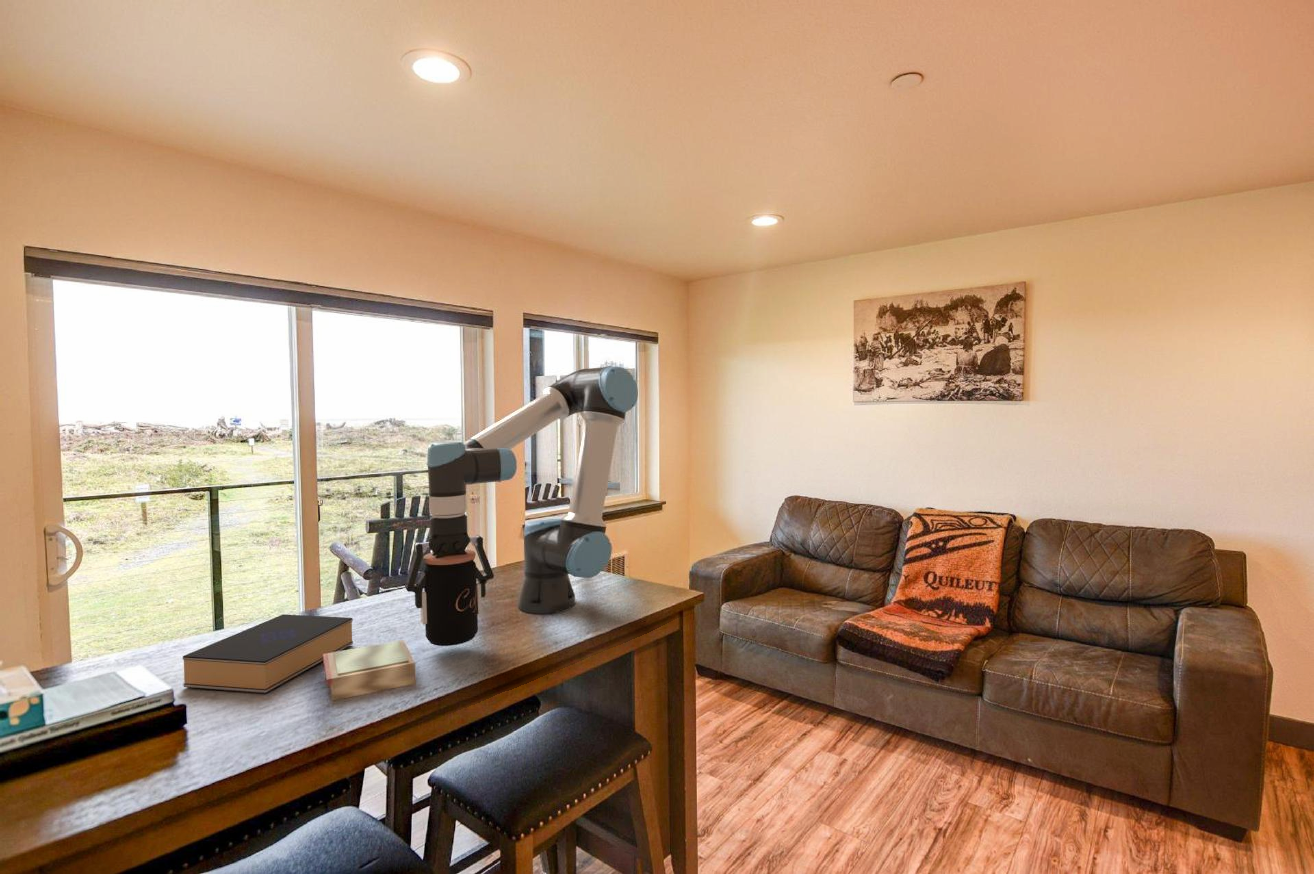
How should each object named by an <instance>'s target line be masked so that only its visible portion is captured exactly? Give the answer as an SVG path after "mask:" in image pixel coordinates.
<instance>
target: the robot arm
mask: <svg viewBox="0 0 1314 874" xmlns="http://www.w3.org/2000/svg"><path fill="white" fill-rule="evenodd" d="M638 397H639V389H638V384H637V382H636V380H635V379H634V376H633V375H632V373H631V372H630V371H628V370H627V369H626V368H624V367H621V366H611V365H606V366H604V367H603V366H601V367H594V368H581V369H579V370H576V371H573V372H571V373H569V374H568V375H565V376H563V377H562V378H560V379H559V380H557V381H556V382H554V383H552V384H551V385H549V386H547V387H546V388H544V389H543V392H542V395H540V396H538V397H537V398H535V399H534V400H531V401H530V402H529V403H527V404H525V405H523V406H522V407H519V409H517V410H515V411H513V412H512V413H510V414H508V415H507V416H505V417H503V418H502V419H501V420H499V421H497V422H495V423H493V424H492V425H490V426H489V427H487V428H485V429H484V430H482V431H480V432H479V433H477V434H476V435H474V436H472V437H470V438H468V439H467V440H464V442H463V441H438V442H432V443H430V444H429V445H428V448H427V463H426V466H427V473H428V474H427V476H428V479H427V480H428V497H429V498H428V504H429V505H428V506H429V508H428V509H429V510H428V513H429V514H430V515H431V516H430V518H429V540H428V541H425V542H424V541H423V542H418V541H417V542H414V547H413V548H414V554H413V558H412V561H411V565H410V569H409V570H408V571H409V572H408V575H407V578H406V582H405V584H404V589H406V591H407V592H409V593H410V592H411V593H414V606H415V607H416V609H420V621H421V623H422V625H424V626H425V624H427V605H426V592H425V591H424V587H425V585H426V574H425V573H424V572H423V571H422V573H421V575H420V577H419V578H418V580H417V577H418V573H419V570H420V567H421V563H422V561H423V557H424V554H425V553H426V552H427V550H428V549H430V550H431V551H432V552H433V554H432V556H434V555H436V556H435V558H442V557H444V556H452V555H464V554H467V553H466V551H465V549H466V550H467V548H468V546H469V544H470V543H471V545H472V547H474V549H475V552H476V554H477V556H478V559H479V562H480V563H481V567H482V569H483V571H484V572H483V573H484V574H483V573H482V571H480V570H479V568H478V567H477V566H476V583H477V614H478V615H482V612H483V611H482V610H483V609H482V598H485V597H486V592H487V591H486V590H487V589H486V583H487V582H488V581H489V580H493V579H494V577H495V575H494V572H493V569H492V566H491V565H490V561H489V560H488V557H487V553H486V551H485V549H484V538H483V537H482V536H480V535H479V534H475V536H469V534H468V516H467V515H466V513H467V511H468V507H467V486H468V485H476V484H486V483H496V482H498V483H501V482H503V481H505V482H506V481H510V480H511V479H513V478H514V477H515V475H516V473H517V467H518V465H517V463H518V462H517V458H516V455H515V453H514V451H513V450H512V449H513V448H516V447H517V446H518V445H520V444H521V443H522V442H524V441H525V440H527V439H529V438H531V437H532V436H533V435H535V434H537V433H538V432H540V431H542V430H543V429H544V428H546V427H548V426H549V425H551V424H552V423H554V422H555V421H557V420H566V419H567V418H568V417H570V416H572V415H576V414H578V413H580V414H579V415H580V416H581V417H582V419H583V420H584V425H583V429H582V430H583V431H582V436H581V441H580V448H579V451H578V458H577V464H576V469H575V475H574V482H573V485H572V492H571V498H570V502H569V508H568V512H567V514H565V515H564V516H563V517H561V518H549V519H548V518H547V519H541V520H539V519H538V520H533V521H529V522H527V523H526V524H524V529H523V537H522V538H523V559H524V560H523V561H524V562H523V564H524V568H523V569H524V571H523V572H524V576H523V577H524V579H523V582H522V585H521V588H520V591H519V594H518V598H517V608H518V609H519V610H520V611H522V612H525V613H530V614H554V613H560V612H563V611H567V610H570V609H572V608H573V607H574V606H576V594H575V591H574V589H573V585H572V582H571V578H570V576H569V575H571V576H572V577H574V578H583V579H590V578H591V579H592V578H594V577H596V576H598V575H599V574H600V573H601V572H602V571H604V570H605V569H606V568H607V566H608V564H609V562H610V560H611V557H612V551H613V549H612V548H613V547H612V543H611V541H610V538H609V537H608V535H606V531H607V524H606V523H605V521H604V520H603V513H604V508H605V501H606V496H607V489H608V483H609V479H610V474H611V473H610V472H611V467H612V462H613V461H612V460H613V456H614V450H615V443H616V437H617V433H618V427H619V426H620V425H623V423H624V422H625V420H626V413H627V412H629V411H631V410H632V409H633V408H634V407H635V405H636V403H637V401H638ZM416 580H417V582H416ZM415 583H416V584H415Z"/></svg>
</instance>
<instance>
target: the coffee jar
mask: <svg viewBox="0 0 1314 874" xmlns="http://www.w3.org/2000/svg"><path fill="white" fill-rule="evenodd" d="M465 551H466V553H467V554H464V555H452V556H444V557H442V558H435V556H436V555H434V556H432V554H433V551H432V552H429V553H426V554H425V555H423V557H422V561H423V563H424V564H425V565H424V568H423V571H422V573H423V572H424V573H425V574H426V585H425V587H424V589H423V590H424V591H425V592H426V605H427V624H424V627H425V628H424V629H425V637H426V640H428V641H429V643H430V644H431V645H433V646H438V647H448V646H449V647H451V646H458V645H461V644H465V643H467V642H470V641H472V640H473V639H474V638H475V637H476V635H477V633H478V631H479V621H478V620H479V618H478V616H479V614H477V583H476V582H477V578H476V567H477V563H476V562H475V558H476V551H474V550H471V549H467V548H466V549H465Z"/></svg>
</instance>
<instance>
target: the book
mask: <svg viewBox="0 0 1314 874" xmlns="http://www.w3.org/2000/svg"><path fill="white" fill-rule="evenodd" d="M352 623H353V617H344V616H343V617H342V616H321V615H303V614H280V615H278V616H276V617H274V618H271V619H268V620H266V621H264V622H261V623H259V624H257V625H255V626H252V627H249V628H247V629H245V630H241V631H240V632H237V633H235V634H233V635H230V636H228V637H225V638H222V639H221V640H218V641H216V642H214V643H211V644H208V645H206V646H204V647H202V648H199V649H196V650H195V651H194V650H193V651H192V652H189V653H186V654H185V655H183V656H182V660H183V680H184V682H183V683H182V685H183V688H193V689H206V690H218V691H219V690H220V691H233V692H243V693H245V692H247V693H257V694H258V693H262V694H267V693H268V692H270V691H271V690H274V689H276V688H278V687H280V686H281V685H282V684H284V683H286V682H288V681H290V680H291V679H293V678H296V677H297V676H299V675H301V674H302V673H304V672H306V671H307V670H309V669H312V668H313V667H314V666H316V665H318V664H321V662H323V654H326V653H332V652H338V651H343V650H346V648H349V647H351V646H352V645H354V640H353V625H352Z"/></svg>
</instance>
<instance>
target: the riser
mask: <svg viewBox="0 0 1314 874" xmlns="http://www.w3.org/2000/svg"><path fill="white" fill-rule="evenodd" d="M407 646H408V645H406V643H405V641H404V640H403V639H402V640H396V641H391V642H385V643H380V644H373V645H367V646H362V647H356V648H351V649H343V650H341V651H338V652H332V653H326V654H323V661H322V662H323V667H324V675H325V676H324V677H325V682H326V683H325V684H326V686H327V687H329V690H330V695H331V700H332V702H333V701H337V700H343V699H348V698H352V697H357V696H362V695H363V696H364V695H368V694H372V693H376V692H380V691H386V690H392V689H395V688H396V689H397V688H401V687H406V686H410V685H414V684H416V662H415V660H414V658H413V656H412V653H410V650H409V648H408V647H407Z"/></svg>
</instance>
